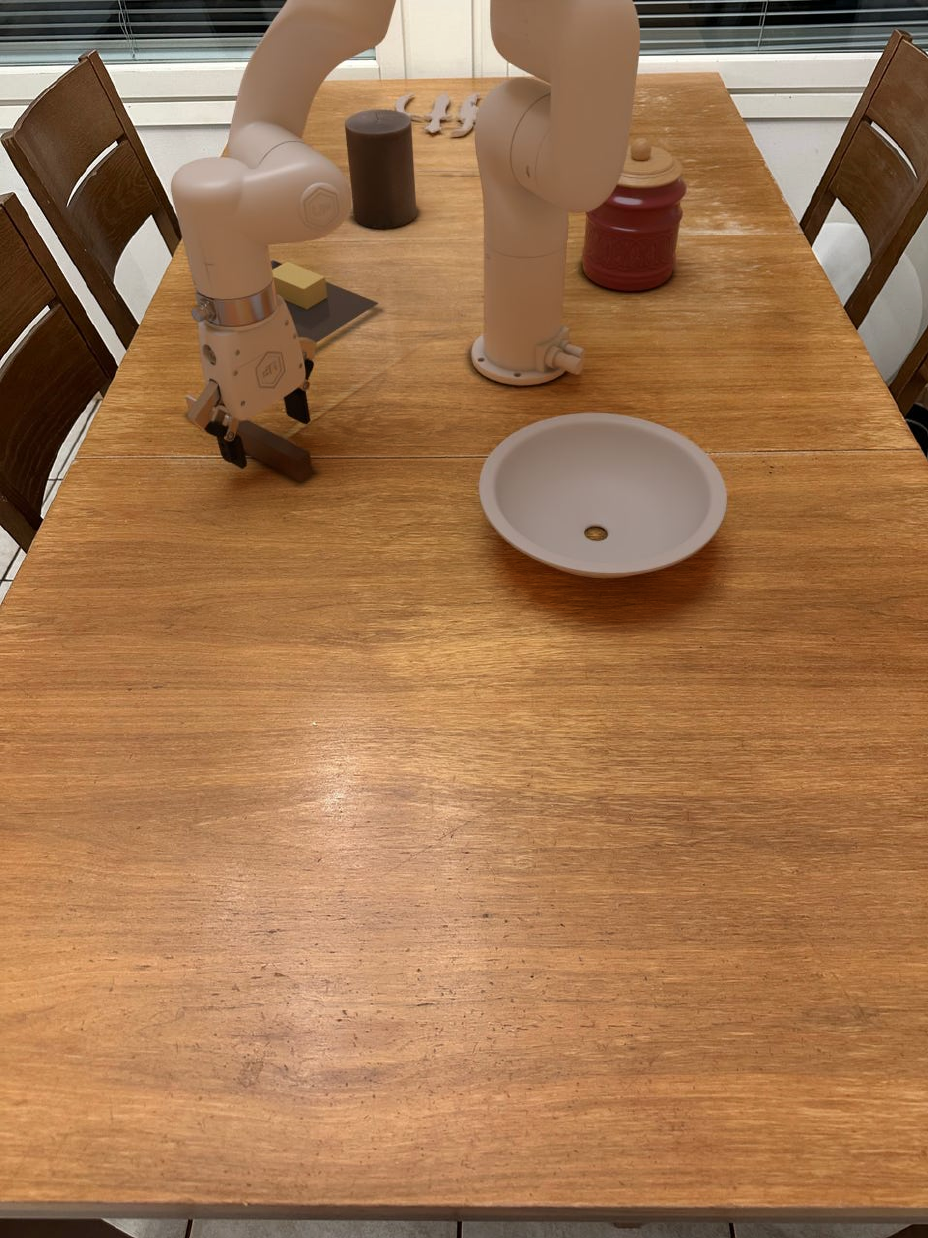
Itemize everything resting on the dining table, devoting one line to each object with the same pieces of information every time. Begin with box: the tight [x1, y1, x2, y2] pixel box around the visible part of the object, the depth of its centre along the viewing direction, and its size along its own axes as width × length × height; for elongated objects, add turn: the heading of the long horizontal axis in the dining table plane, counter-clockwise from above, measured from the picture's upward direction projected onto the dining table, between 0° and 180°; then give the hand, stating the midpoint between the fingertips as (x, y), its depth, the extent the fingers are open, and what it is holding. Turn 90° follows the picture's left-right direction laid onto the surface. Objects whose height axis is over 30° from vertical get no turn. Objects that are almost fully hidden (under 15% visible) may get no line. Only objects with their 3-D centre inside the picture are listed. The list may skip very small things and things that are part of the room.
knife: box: [184, 394, 314, 483], centre depth 107 cm, size 19×2×3 cm, turn 52°
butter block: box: [272, 261, 327, 309], centre depth 127 cm, size 7×4×3 cm, turn 52°
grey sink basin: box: [478, 412, 728, 579], centre depth 94 cm, size 24×24×7 cm
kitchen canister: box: [581, 137, 688, 292], centre depth 127 cm, size 13×13×18 cm
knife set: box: [394, 91, 482, 173], centre depth 166 cm, size 26×35×1 cm
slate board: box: [270, 259, 379, 344], centre depth 127 cm, size 20×14×1 cm
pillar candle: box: [344, 108, 417, 230], centre depth 140 cm, size 10×10×15 cm
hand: (268, 440), depth 104 cm, fingers open, 9 cm apart
